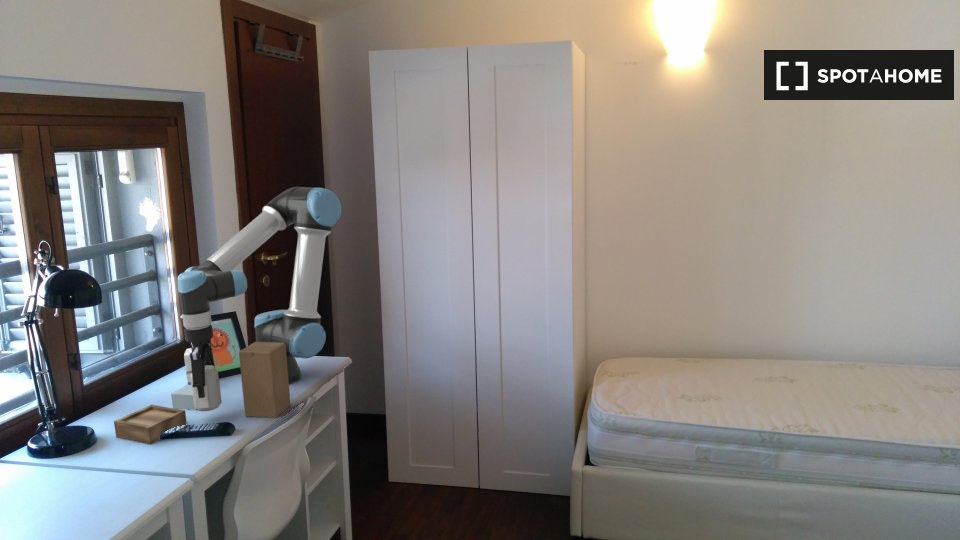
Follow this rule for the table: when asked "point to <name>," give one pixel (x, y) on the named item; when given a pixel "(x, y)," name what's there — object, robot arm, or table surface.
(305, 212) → the robot arm
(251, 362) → the wooden block
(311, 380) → the table surface
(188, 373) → the ink box
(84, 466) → the table surface
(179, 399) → the slate painted block
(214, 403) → the can
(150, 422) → the walnut base block
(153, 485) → the table surface
